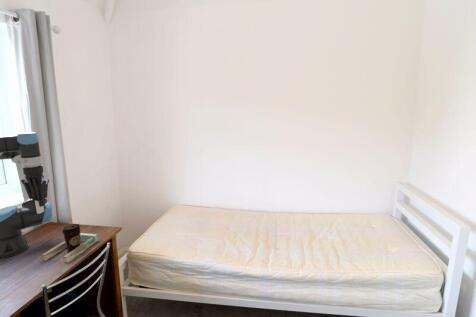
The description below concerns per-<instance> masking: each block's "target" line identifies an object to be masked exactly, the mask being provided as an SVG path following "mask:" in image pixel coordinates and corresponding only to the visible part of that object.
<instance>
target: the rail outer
mask: <svg viewBox="0 0 476 317" xmlns="http://www.w3.org/2000/svg"><path fill="white" fill-rule="evenodd" d="M95 243H96V242H95V237H91V238H90V239H89V240H87V241H86V242H83V243H80V246H78V247H77V248H76V249H74V250H73V251H71V252H68V253H67V254H66V255H63V262H64V263H70V262H71V261H73V260H74V259H76V257H78V256H79V255H81V254H82V253H84V251H86V250H87V249H89V248H90V247H92V246H93V245H94V244H95Z"/></svg>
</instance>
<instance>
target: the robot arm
mask: <svg viewBox="0 0 476 317" xmlns="http://www.w3.org/2000/svg"><path fill="white" fill-rule="evenodd" d="M39 141H40V139H39V137H38V134H37V132H34V131H24V132H20V133H17V134H16V135H4V136H0V160H11V162H12V163H14V164H15V166H16V167H15V168H16V171H17V175H18V180H19V185H20V189H21V192H22V196H23V202H22V203H21V207H17V205H12V206H11V205H9V206H6V207H3V208H0V259H5V258H9V257H13V256H17V255H19V254H21V253H23V252H25V251H27V250H28V248H29V247H30V245H29V241H28V240H27V238H26V236H25V235H24V233H23V231H22V230H25V229H28V228H29V229H30V228H35V227H37V226H41V225H42V226H43V225H44V224H48V223H50V222H51V221H52V219H53V207H52V206H53V205H52V202H51V201H48V200H47V198H48V191H49V190H48V188H49V187H48V185H49V183H50V179H46V178H45V176H44V174H43V173H44V166H43V161H42V155H41V149H40V144H39V143H40V142H39Z"/></svg>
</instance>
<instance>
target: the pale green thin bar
mask: <svg viewBox="0 0 476 317" xmlns="http://www.w3.org/2000/svg"><path fill="white" fill-rule="evenodd" d="M64 249H67V246H66V243H65V240H63V241H61V243H59V244H57V245H56V246H54V247H52V248H50V249H49V250H47V251H46V252H44V253H42V254H41V258H42V259H41V260H42V261H44V262H47V261H48V260H49V259H51V258H53V257H54V256H56V255H57V254H58V253H60V252H62V251H63V250H64Z"/></svg>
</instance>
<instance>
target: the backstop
mask: <svg viewBox="0 0 476 317" xmlns="http://www.w3.org/2000/svg"><path fill="white" fill-rule="evenodd" d="M91 237H95V243H97V242H98V241H99V240H98V239H99V238H98V234H97V233H86V232H85V233H84V232H80V239H81V242H83V243H84V242H86V241H87V240H89V239H90V238H91Z"/></svg>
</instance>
